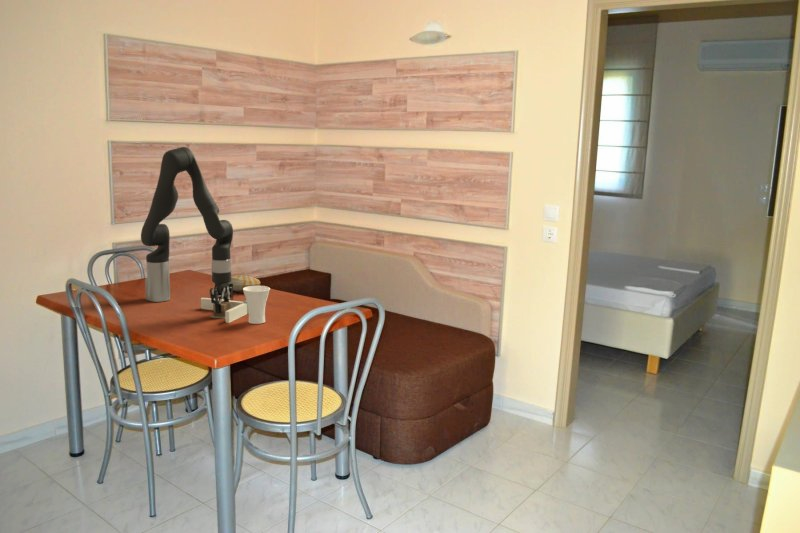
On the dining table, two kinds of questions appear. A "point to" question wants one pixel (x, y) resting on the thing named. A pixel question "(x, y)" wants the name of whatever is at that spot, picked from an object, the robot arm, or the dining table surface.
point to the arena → (232, 314)
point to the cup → (256, 302)
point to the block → (222, 309)
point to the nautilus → (243, 282)
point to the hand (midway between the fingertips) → (222, 311)
